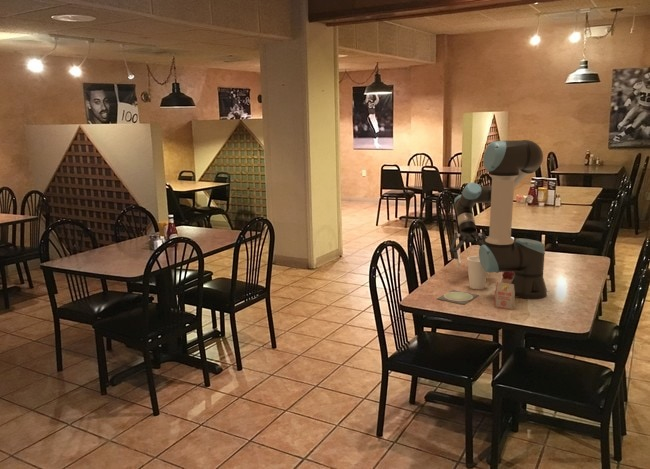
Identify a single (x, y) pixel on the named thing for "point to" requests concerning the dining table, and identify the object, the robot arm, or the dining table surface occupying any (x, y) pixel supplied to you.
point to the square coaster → (458, 297)
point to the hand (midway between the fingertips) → (474, 264)
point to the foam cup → (476, 273)
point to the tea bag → (504, 295)
